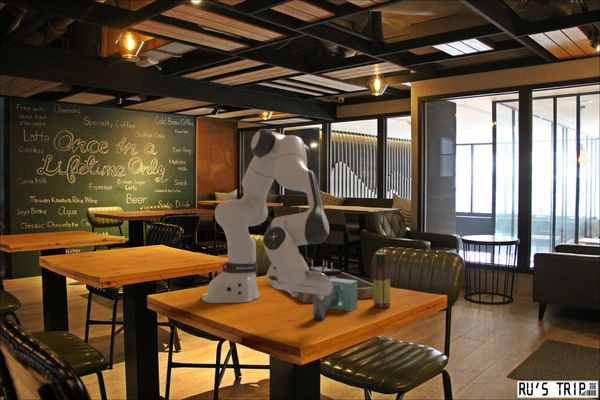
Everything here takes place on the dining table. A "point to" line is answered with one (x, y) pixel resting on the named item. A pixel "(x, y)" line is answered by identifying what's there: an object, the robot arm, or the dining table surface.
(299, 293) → the tray frame
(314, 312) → the dark piece
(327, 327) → the dining table surface
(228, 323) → the dining table surface
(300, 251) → the portable speaker
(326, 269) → the black-topped pedestal
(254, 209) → the robot arm
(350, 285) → the eye block
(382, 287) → the sauce bottle
